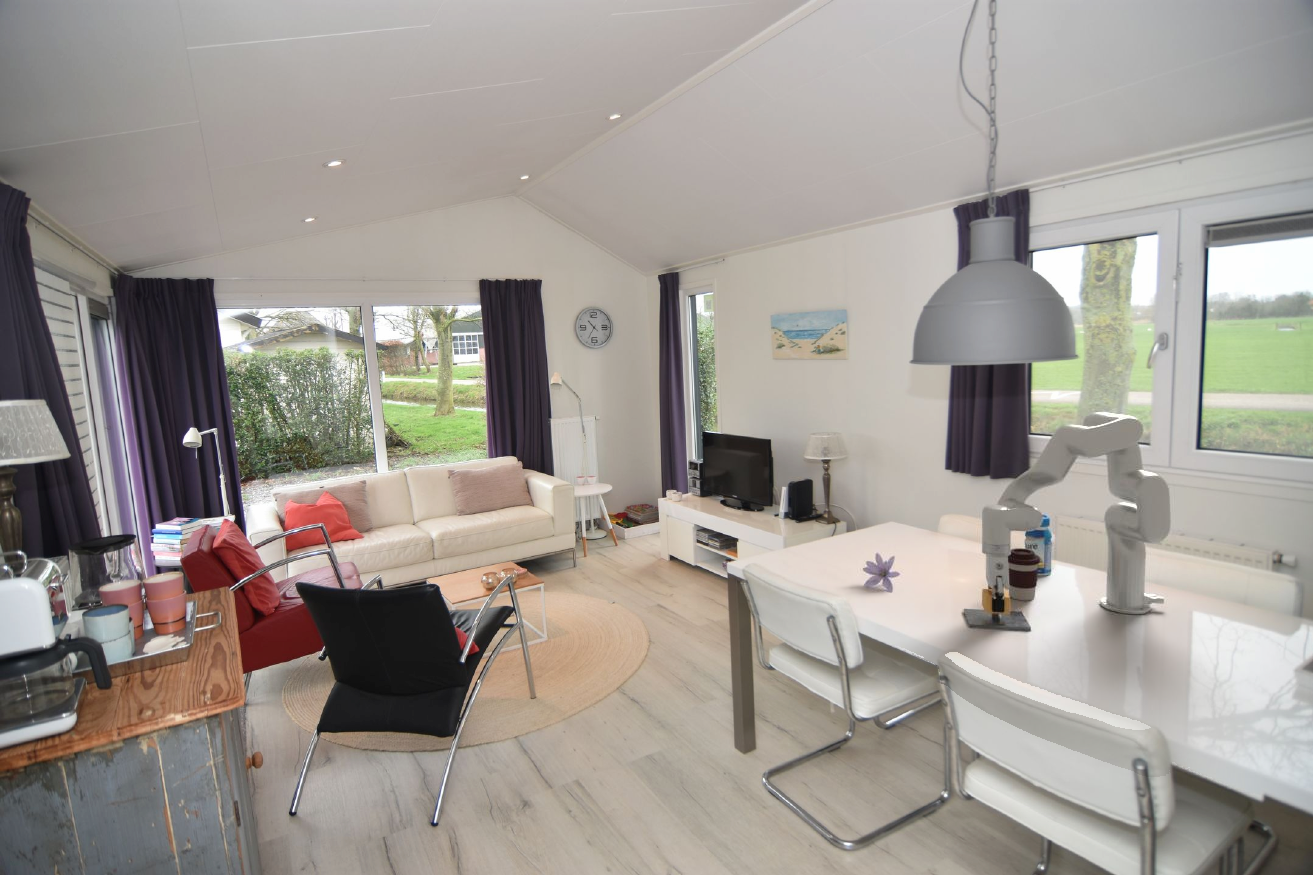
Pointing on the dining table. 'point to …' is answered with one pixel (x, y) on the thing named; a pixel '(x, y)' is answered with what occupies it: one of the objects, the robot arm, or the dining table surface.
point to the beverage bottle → (1041, 545)
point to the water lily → (880, 572)
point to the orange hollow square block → (988, 601)
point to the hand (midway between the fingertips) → (995, 606)
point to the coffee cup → (1023, 573)
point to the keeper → (996, 620)
